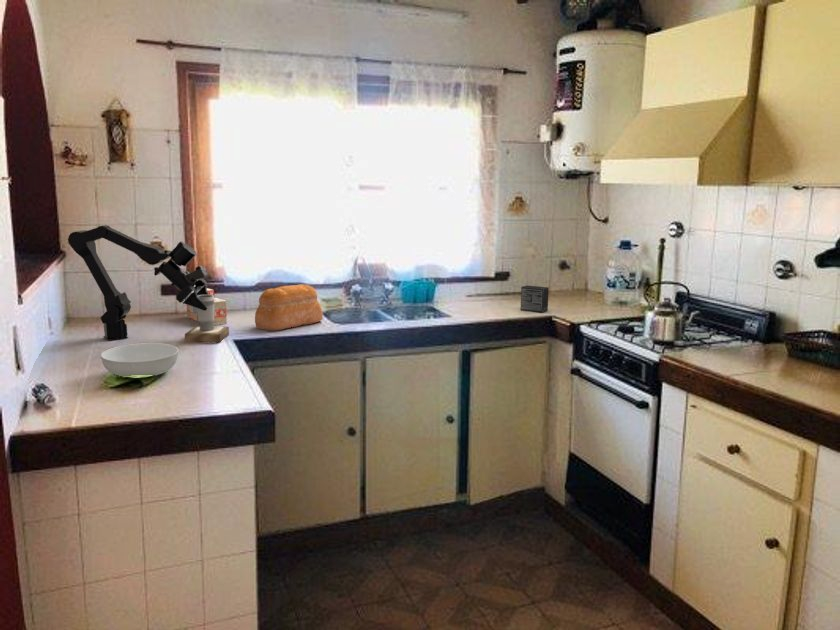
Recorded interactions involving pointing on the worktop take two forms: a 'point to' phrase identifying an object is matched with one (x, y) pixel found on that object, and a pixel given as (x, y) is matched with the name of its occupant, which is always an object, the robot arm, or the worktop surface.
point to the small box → (534, 298)
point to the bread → (288, 307)
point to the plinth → (206, 335)
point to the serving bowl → (140, 359)
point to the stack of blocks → (218, 310)
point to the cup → (206, 313)
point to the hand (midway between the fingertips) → (210, 307)
